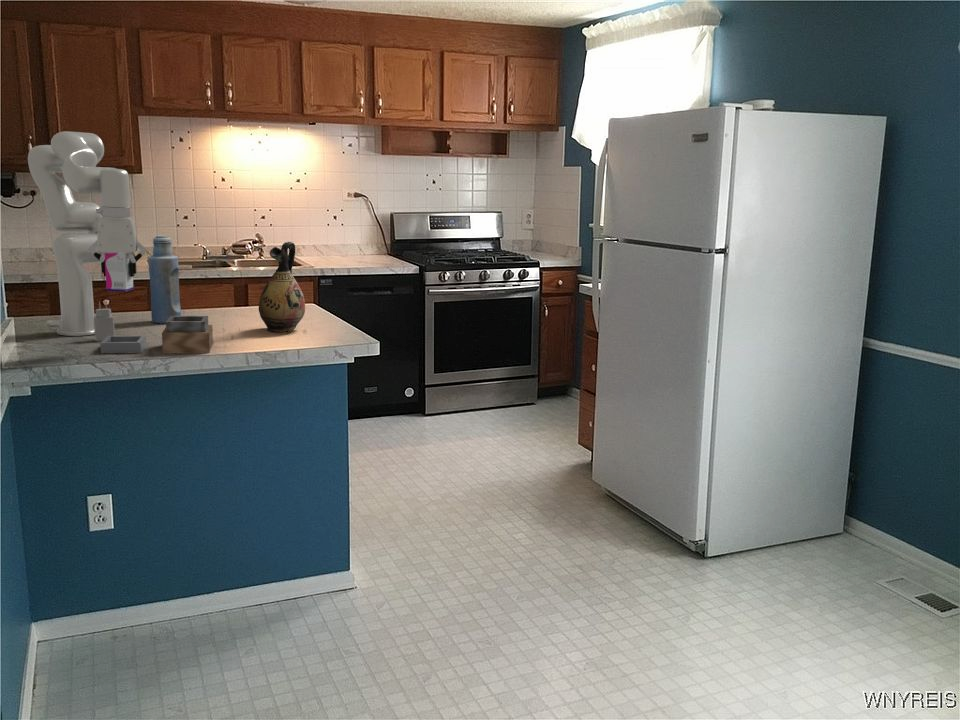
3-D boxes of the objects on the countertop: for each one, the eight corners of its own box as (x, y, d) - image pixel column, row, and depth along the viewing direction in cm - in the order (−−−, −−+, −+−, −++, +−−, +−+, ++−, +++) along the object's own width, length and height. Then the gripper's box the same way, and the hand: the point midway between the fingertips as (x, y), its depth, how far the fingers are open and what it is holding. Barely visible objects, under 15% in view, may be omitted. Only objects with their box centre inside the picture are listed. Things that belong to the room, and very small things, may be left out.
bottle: (172, 324, 282) (168, 237, 275) (145, 323, 283) (141, 235, 277) (186, 320, 291) (182, 235, 285) (160, 318, 293) (156, 234, 286)
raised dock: (162, 353, 238) (161, 322, 236) (168, 344, 250) (167, 315, 248) (209, 352, 241) (208, 322, 239) (213, 343, 253) (212, 315, 251)
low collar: (100, 353, 235) (100, 343, 234) (108, 345, 245) (107, 335, 244) (140, 352, 237) (140, 342, 237) (146, 345, 248) (146, 335, 247)
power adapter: (115, 340, 254) (113, 301, 251) (96, 341, 251) (94, 302, 248) (113, 338, 256) (111, 300, 254) (94, 339, 253) (92, 301, 251)
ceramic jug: (290, 335, 270) (288, 244, 264) (250, 331, 275) (247, 242, 269) (316, 328, 286) (315, 241, 280) (278, 324, 291) (276, 239, 284)
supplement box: (134, 288, 241) (132, 249, 238) (126, 291, 235) (124, 251, 232) (114, 287, 241) (112, 248, 238) (105, 290, 235) (103, 250, 232)
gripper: (80, 213, 227) (84, 277, 231) (146, 215, 231) (149, 278, 235) (86, 211, 234) (89, 273, 238) (150, 213, 238) (153, 274, 243)
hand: (119, 275), depth 237 cm, fingers closed on supplement box, 6 cm apart
